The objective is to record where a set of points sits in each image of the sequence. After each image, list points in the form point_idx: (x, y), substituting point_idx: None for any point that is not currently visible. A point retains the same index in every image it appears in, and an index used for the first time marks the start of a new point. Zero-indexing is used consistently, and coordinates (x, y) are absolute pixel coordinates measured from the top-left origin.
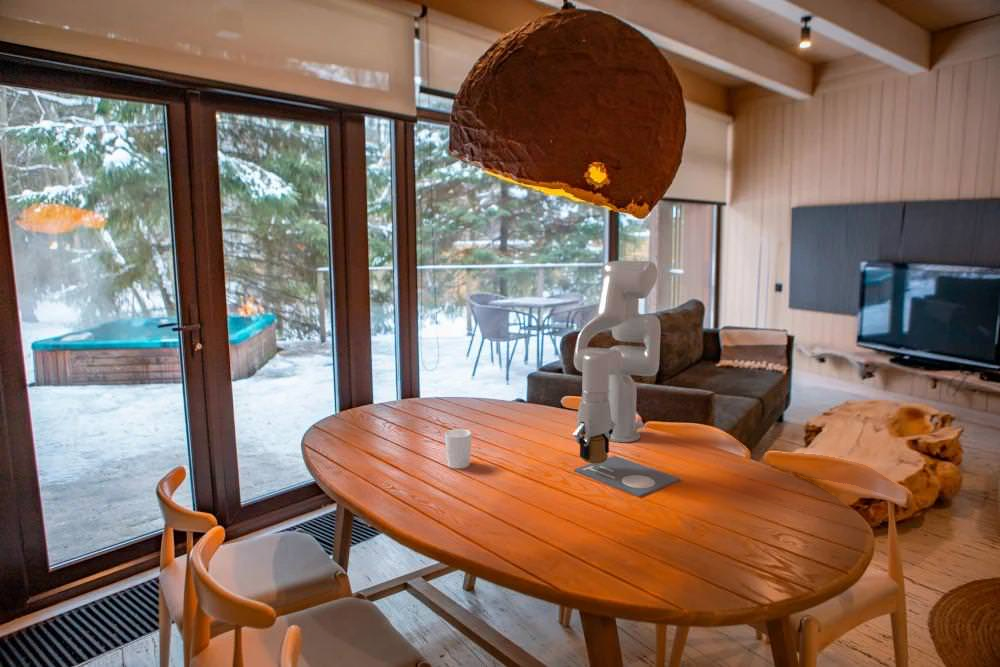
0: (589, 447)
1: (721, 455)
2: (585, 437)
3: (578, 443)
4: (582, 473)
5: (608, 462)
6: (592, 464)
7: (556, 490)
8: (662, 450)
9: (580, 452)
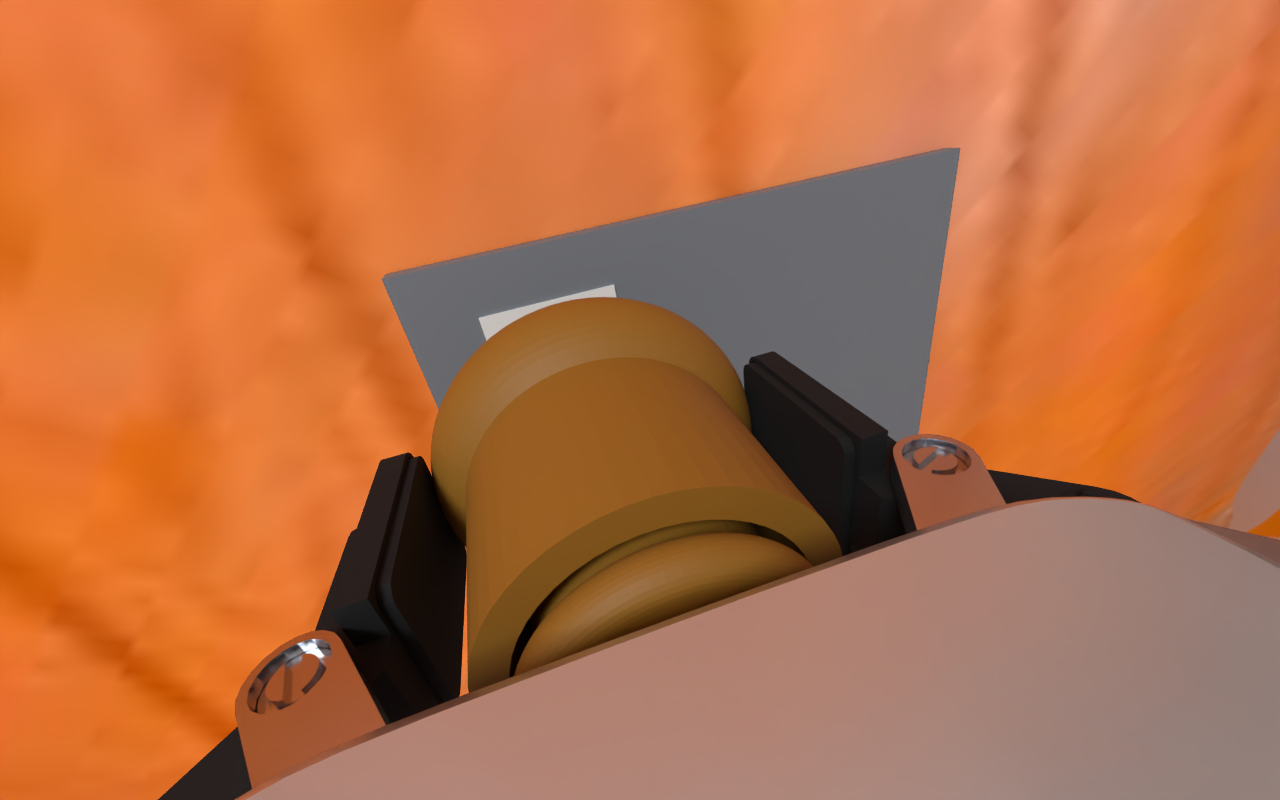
0: (458, 689)
1: (1258, 420)
2: (529, 575)
3: (251, 677)
4: (432, 389)
5: (793, 275)
6: (642, 247)
7: (9, 605)
8: (1242, 211)
9: (344, 557)
